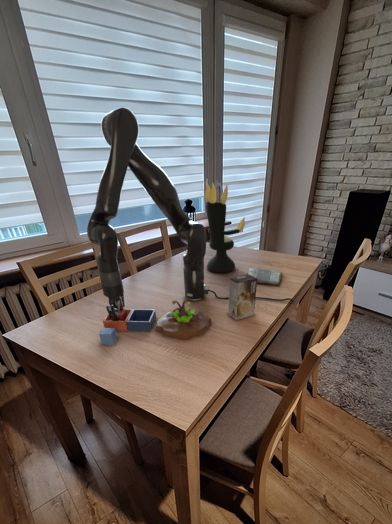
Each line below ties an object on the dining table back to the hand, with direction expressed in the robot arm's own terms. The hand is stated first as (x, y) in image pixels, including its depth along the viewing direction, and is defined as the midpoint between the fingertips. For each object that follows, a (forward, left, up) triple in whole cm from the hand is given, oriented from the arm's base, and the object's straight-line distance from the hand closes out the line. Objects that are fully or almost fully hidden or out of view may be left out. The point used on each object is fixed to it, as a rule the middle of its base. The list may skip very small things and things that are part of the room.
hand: (119, 322), depth 111 cm
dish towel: (-64, -52, -1) cm, 83 cm away
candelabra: (-40, -65, -1) cm, 77 cm away
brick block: (0, 0, 0) cm, 0 cm away
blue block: (0, +13, -1) cm, 13 cm away
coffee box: (-49, -9, -1) cm, 50 cm away
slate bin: (-9, 0, -1) cm, 9 cm away
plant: (-26, +1, -1) cm, 26 cm away
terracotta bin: (0, 0, -1) cm, 1 cm away
